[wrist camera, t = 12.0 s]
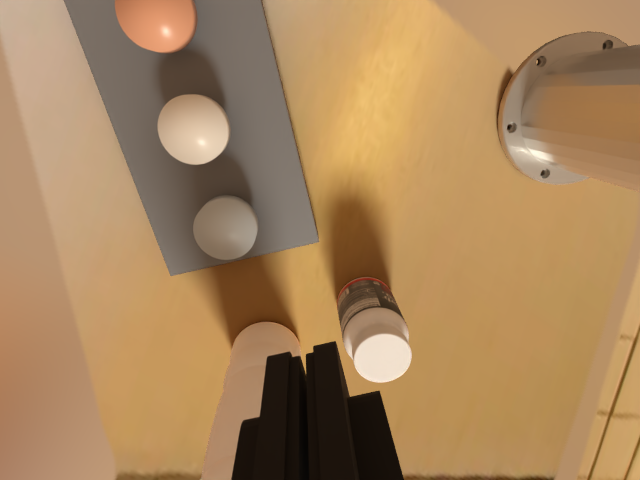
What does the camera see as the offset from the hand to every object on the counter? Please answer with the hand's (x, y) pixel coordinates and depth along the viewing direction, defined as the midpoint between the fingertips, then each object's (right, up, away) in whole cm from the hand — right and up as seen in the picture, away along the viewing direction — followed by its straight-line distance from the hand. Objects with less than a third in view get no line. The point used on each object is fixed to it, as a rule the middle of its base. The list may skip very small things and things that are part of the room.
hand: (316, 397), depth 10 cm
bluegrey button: (-8, +5, +25) cm, 26 cm away
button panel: (-10, +14, +26) cm, 31 cm away
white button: (-9, +12, +22) cm, 27 cm away
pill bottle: (+5, -2, +32) cm, 33 cm away
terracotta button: (-11, +20, +19) cm, 30 cm away
